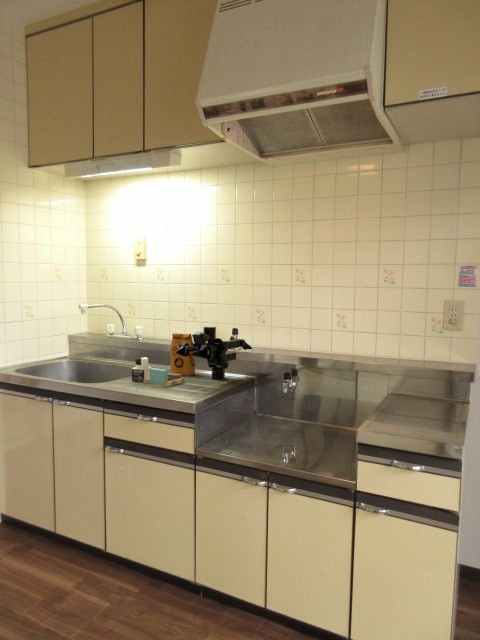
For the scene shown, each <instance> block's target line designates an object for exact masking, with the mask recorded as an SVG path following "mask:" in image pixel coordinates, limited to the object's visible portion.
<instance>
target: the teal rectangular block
mask: <svg viewBox="0 0 480 640" xmlns="http://www.w3.org/2000/svg"><path fill="white" fill-rule="evenodd" d="M168 373H169V371H168V369H162V368H157V367H156V368H154V367H152V368H151V369H150V384H154V385H161V386H163V383H164V382H168Z"/></svg>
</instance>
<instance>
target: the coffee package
mask: <svg viewBox="0 0 480 640" xmlns="http://www.w3.org/2000/svg"><path fill="white" fill-rule="evenodd" d="M171 336H172V339H171V343H170V349H169V351H170V373H175V374H181V376H184V377H185V376H187V377H188V376H193V375H196V356H193V355H192V352H191V351H189V356H187V357H183V356H180V355H178V354H176V351H177V350H178V349H179V344H180V343H188V344H189V346H192V347H194V346H193V343H194V340H193V337H192V334H191V333H177V332H176V333H172V335H171ZM189 349H190V348H189Z"/></svg>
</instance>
